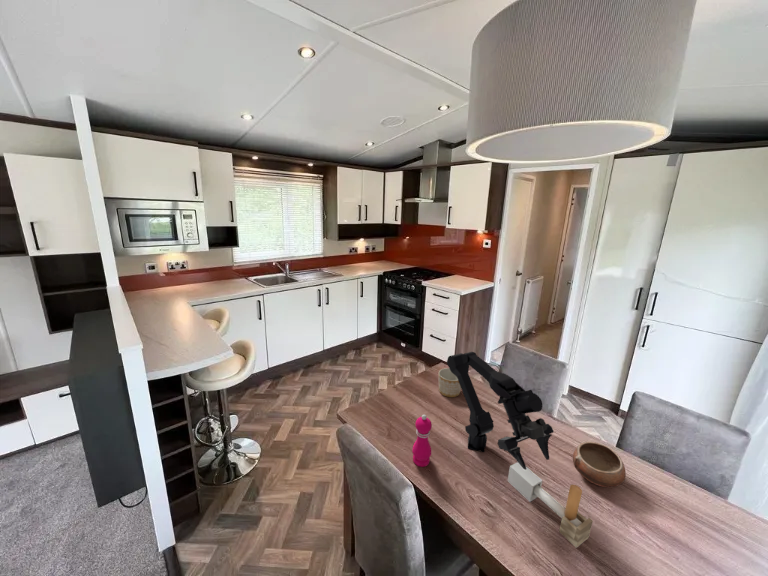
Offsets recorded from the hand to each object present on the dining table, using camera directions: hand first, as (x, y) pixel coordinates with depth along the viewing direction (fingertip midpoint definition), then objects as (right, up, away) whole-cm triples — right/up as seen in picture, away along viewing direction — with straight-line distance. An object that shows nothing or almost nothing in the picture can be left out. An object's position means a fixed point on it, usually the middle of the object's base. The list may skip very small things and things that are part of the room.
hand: (536, 464), depth 100 cm
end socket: (+7, -16, -9) cm, 19 cm away
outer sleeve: (-2, -12, +6) cm, 14 cm away
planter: (-15, +2, +62) cm, 64 cm away
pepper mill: (-36, -8, +17) cm, 40 cm away
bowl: (+27, -11, +12) cm, 32 cm away
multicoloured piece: (+3, -12, -3) cm, 13 cm away
